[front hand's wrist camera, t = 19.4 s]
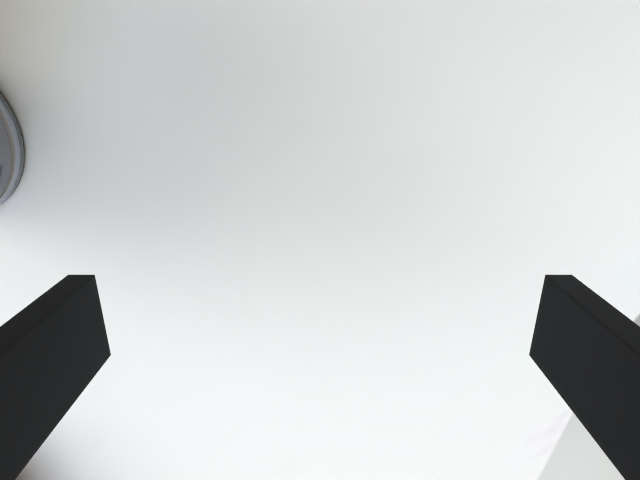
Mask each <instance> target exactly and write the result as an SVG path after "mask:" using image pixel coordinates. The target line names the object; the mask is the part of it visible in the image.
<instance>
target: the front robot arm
mask: <svg viewBox="0 0 640 480" xmlns="http://www.w3.org/2000/svg"><path fill="white" fill-rule="evenodd" d="M23 164H24V146H23V140H22V135H21V132H20V128H19V125H18V123H17V120H16V118H15V116H14V114H13V112H12V110H11V108H10V106H9V104H8V103H7V101H6V100H5V98H4V97H3V96H2V94H1V93H0V204H2V203H3V202H4V201H5V200H7V199H8V198H9V196H10V195H11V194H12V193H13V191H14V190H15V188H16V187H17V185H18V183H19V180H20V178H21V174H22V170H23ZM110 355H111V354H110V349H109V344H108V339H107V334H106V329H105V324H104V319H103V314H102V309H101V304H100V299H99V294H98V289H97V284H96V279H95V275H68V276H66V277H65V278H64V279H62V280H61V281H60V282H58V283H57V284H56V285H54V286H53V287H52V288H50V289H49V290H48V291H47V292H45V293H44V294H43V295H41V296H40V297H39V298H37V299H36V300H35V301H33V302H32V303H31V304H30V305H28V306H27V307H26V308H24V309H23V310H22V311H20V312H19V313H18V314H16V315H15V316H14V317H13V318H11V319H10V320H9V321H7V322H6V323H5V324H3V325H2V326H1V327H0V480H15V479H16V477H17V476H18V475H19V474H20V472H21V471H22V470H23V468H24V467H25V466H26V464H27V463H28V462H29V461H30V459H31V458H32V457H33V455H34V454H35V453H36V451H37V450H38V449H39V448H40V446H41V445H42V444H43V442H44V441H45V440H46V438H47V437H48V436H49V435H50V433H51V432H52V431H53V429H54V428H55V427H56V425H57V424H58V423H59V422H60V420H61V419H62V418H63V416H64V415H65V414H66V412H67V411H68V410H69V408H70V407H71V406H72V405H73V403H74V402H75V401H76V399H77V398H78V397H79V395H80V394H81V393H82V392H83V390H84V389H85V388H86V386H87V385H88V384H89V382H90V381H91V380H92V379H93V377H94V376H95V375H96V373H97V372H98V371H99V369H100V368H101V367H102V366H103V364H104V363H105V362H106V360H107V359H108V358H109V356H110ZM529 355H530V356H531V358H532V359H533V360H534V362H535V363H536V364H537V366H538V367H539V368H540V369H541V371H542V372H543V373H544V375H545V376H546V377H547V379H548V380H549V381H550V382H551V384H552V385H553V386H554V388H555V389H556V390H557V392H558V393H559V394H560V395H561V397H562V398H563V399H564V401H565V402H566V403H567V405H568V406H569V407H570V409H571V410H572V411H573V412H574V414H575V415H576V416H577V418H578V419H579V420H580V422H581V423H582V424H583V425H584V427H585V428H586V429H587V431H588V432H589V433H590V435H591V436H592V437H593V438H594V440H595V441H596V442H597V444H598V445H599V446H600V448H601V449H602V450H603V451H604V453H605V454H606V455H607V457H608V458H609V459H610V461H611V462H612V463H613V464H614V466H615V467H616V468H617V470H618V471H619V472H620V473H621V475H622V476H623V477H624V479H625V480H640V327H639V326H638V325H637V324H635V323H634V322H633V321H631V320H630V319H629V318H627V317H626V316H625V315H624V314H622V313H621V312H620V311H618V310H617V309H616V308H614V307H613V306H612V305H610V304H609V303H608V302H607V301H605V300H604V299H603V298H601V297H600V296H599V295H597V294H596V293H595V292H593V291H592V290H591V289H590V288H588V287H587V286H586V285H584V284H583V283H582V282H580V281H579V280H578V279H576V278H575V277H574V276H572V275H545V279H544V284H543V289H542V294H541V299H540V304H539V309H538V314H537V319H536V324H535V329H534V334H533V339H532V344H531V349H530V354H529Z"/></svg>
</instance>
